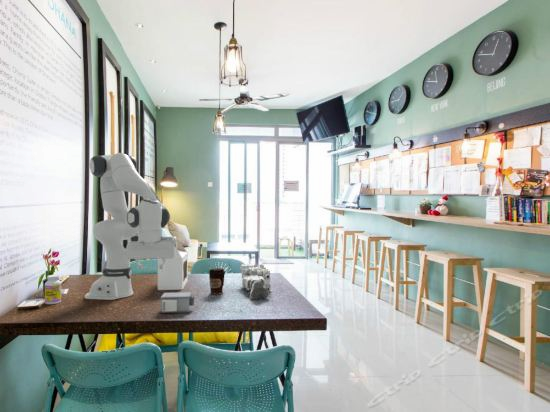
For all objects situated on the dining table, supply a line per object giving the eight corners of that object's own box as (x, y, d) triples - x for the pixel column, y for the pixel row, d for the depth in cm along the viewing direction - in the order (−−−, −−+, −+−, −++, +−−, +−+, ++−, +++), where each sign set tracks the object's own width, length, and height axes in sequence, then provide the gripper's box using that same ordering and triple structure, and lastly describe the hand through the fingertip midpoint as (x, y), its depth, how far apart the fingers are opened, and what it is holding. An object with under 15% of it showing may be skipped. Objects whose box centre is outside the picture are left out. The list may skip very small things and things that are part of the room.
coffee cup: (221, 296, 185) (221, 270, 184) (206, 295, 186) (206, 270, 186) (227, 291, 193) (227, 267, 193) (212, 290, 195) (212, 267, 195)
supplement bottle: (42, 305, 167) (42, 277, 166) (48, 301, 173) (48, 274, 173) (58, 304, 168) (58, 276, 168) (63, 300, 174) (63, 274, 174)
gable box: (165, 281, 217) (165, 235, 217) (187, 280, 219) (187, 234, 218) (157, 290, 195) (157, 239, 195) (182, 289, 197) (182, 238, 196)
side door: (161, 312, 154) (161, 301, 154) (163, 310, 156) (163, 299, 156) (176, 311, 154) (176, 300, 154) (177, 310, 156) (177, 299, 156)
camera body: (160, 313, 156) (160, 297, 155) (164, 308, 163) (164, 292, 163) (192, 312, 157) (192, 296, 157) (194, 307, 164) (194, 292, 164)
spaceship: (265, 281, 213) (265, 261, 212) (278, 303, 180) (279, 280, 178) (238, 282, 210) (238, 262, 209) (247, 305, 176) (247, 281, 175)
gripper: (177, 236, 158) (177, 267, 158) (128, 236, 156) (129, 268, 156) (174, 237, 152) (174, 270, 152) (124, 237, 150) (124, 271, 150)
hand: (151, 269), depth 154 cm, fingers open, 7 cm apart
